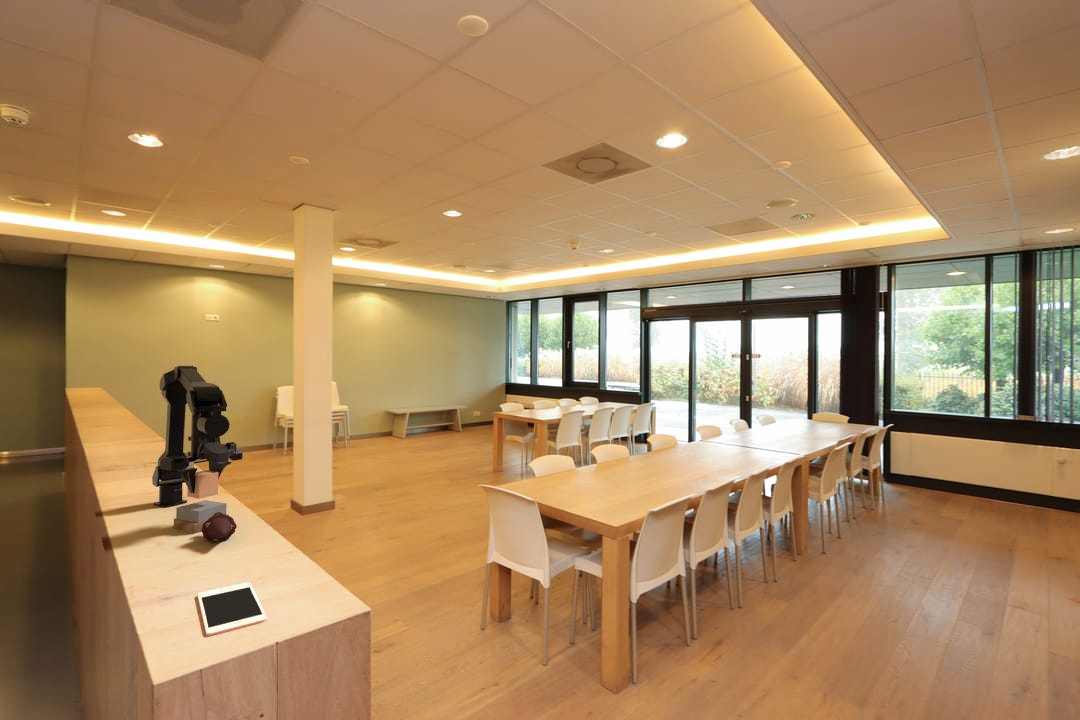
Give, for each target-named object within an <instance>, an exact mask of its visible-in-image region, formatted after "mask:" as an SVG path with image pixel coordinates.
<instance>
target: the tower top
mask: <svg viewBox="0 0 1080 720" xmlns="http://www.w3.org/2000/svg"><path fill="white" fill-rule="evenodd" d="M227 505H228V503H226V502H220V501H214V500H201V501H196V502H193V503H190V504H189V503H188V504H186V505H182V506H178V507H175V510H176V513H175V514H176V515H175V518H176V519H178V520H184V521H190V522H196V523H200V522H203V521H206V520H208V519H209V518H210V517H212V516H213V515H214V514H215V513H216V512H221V513H223V514H227Z"/></svg>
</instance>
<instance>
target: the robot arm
mask: <svg viewBox="0 0 1080 720" xmlns="http://www.w3.org/2000/svg"><path fill="white" fill-rule="evenodd" d="M159 390H160V391H161V396H162V397H163V399H164V400H165V401H166V404H167V409H166V410H167V411H166V428H165V444H164V446H165V449H164V451H163V453H162V454H161V455H160V456H159V457H158V459H157V465H156V466H155V468H154V472H153V474H152V477H151V478H152V479H151V481H152V485H153V486H154V487H156V488H159V490H158V501H154V502H153V504H152V505H154V504H156V505H155V506H158V505H160V506H159V507H162V506H164V507H163V508H167V506H168V507H172V505H173V506H177V505H180V504H184V503H185V502H186V503H188V500H187V499H183V487H184V486H183V484H185V485H186V487H187V488H188V489H189V491H190V493H194V492H195V473H196V472H198V469H199V468H196V467H195V464H200V463H206V462H207V463H208V471H214V472H218V480H219V479H220V477H221V476H222V475H221V474H222V473H223V471H224V469H225V468H226V467H228V465H231V464H232V461H233V462H235V461H239V460H243V459H244V456H243V455H244V453H243V451H242V449H241V448H237V443H236V442H235V441H230V442H226V443H221V437H222V436H224V435H225V434H226V433H227V432H229V429H230V426H231V425H230V421H229V419H228V418H227V416H225V415H223V414H222V412H227V407H228V403H227V400H226V397H225V394H224V393H223V390H222V389H221V388H220V386H218V385H217V384H215V383H212V382H211V383H210V382H207V381H206V380H205V379H204V377H203V376H202V375H201V374H200V373H199V371H198V367H197V366H194V365H177V366H175V367H173V369H172V370H169V371H168V372H167V371H166V372H165V373H163V375H162V376H161V377H160V379H159ZM186 406H188V409H189V410H190V411H189V412H190V413H191V424H190V425H191V427H190V428H191V429H190V432H191V433H190V436H188V437H187V441H190V451H187V455H186V454H185V452H184V446H185V445H184V444H185V426H186V411H187V410H186ZM229 460H230V461H229ZM186 503H185V504H186ZM176 504H177V505H176Z"/></svg>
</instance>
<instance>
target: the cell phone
mask: <svg viewBox="0 0 1080 720" xmlns="http://www.w3.org/2000/svg"><path fill="white" fill-rule="evenodd" d="M196 597H197V598H196V599H197V601H198V605H199V609H200V613H201V620H202V619H203V620H202V623H203V624H202V625H203V628H204V632H205V636H206V637H213V636H217V635H221V634H224V633H228V632H231V631H235V630H236V631H237V630H239V629H243V628H246V627H250V626H255V625H259V624H261V622H262V623H265V622H267V616H266V613H265V611H264V609H263V606H262V605H261V603H260V600H259V598H258V596H257V594H256V592H255V589H254V587H253V586H252V583H251V582H249V581H248V582H243V583H238V584H234V585H230V586H223V587H219V588H214V589H211V590H209V589H208V590H205V591H200V592H198V593H197V596H196ZM264 621H265V622H264ZM258 623H259V624H258Z"/></svg>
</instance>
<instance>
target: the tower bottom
mask: <svg viewBox="0 0 1080 720" xmlns="http://www.w3.org/2000/svg"><path fill="white" fill-rule="evenodd" d="M226 515H228V516H230V515H229V514H227V513H226ZM206 521H207V520H206ZM206 521H203V522H200V523H196V522H190V521H184V520H178V519H176V517H175V518H173V529H174V528H175V530H178V529H179V531H182V530H183V532H186V533H188V534H189V533H190V534H193V535H195V534H198V533H202V531H201V529H202V525H203V524H204V523H205V522H206Z"/></svg>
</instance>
